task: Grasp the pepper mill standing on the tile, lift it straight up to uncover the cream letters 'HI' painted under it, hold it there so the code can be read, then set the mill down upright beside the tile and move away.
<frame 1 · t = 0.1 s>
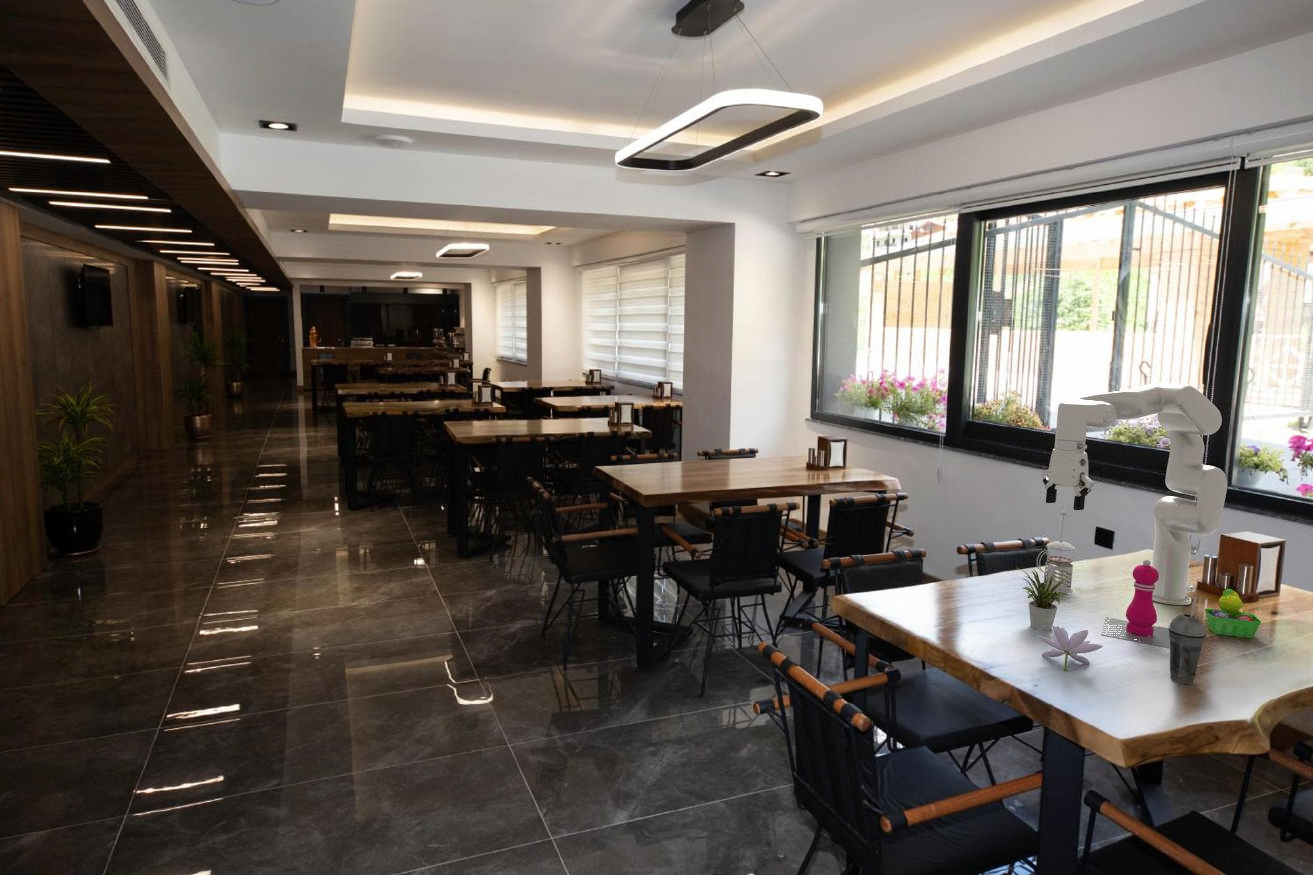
hand: (1064, 506, 227), 31 cm above the table, tool pointing down, fingers open, 9 cm apart
code tile: (1139, 632, 217), on the table
beverage cup: (1181, 681, 186), on the table
house plant: (1035, 627, 220), on the table
fruit basket: (1229, 633, 219), on the table
water lily: (1068, 665, 194), on the table
pepper mill: (1139, 632, 217), resting on code tile
french press: (1054, 589, 255), on the table
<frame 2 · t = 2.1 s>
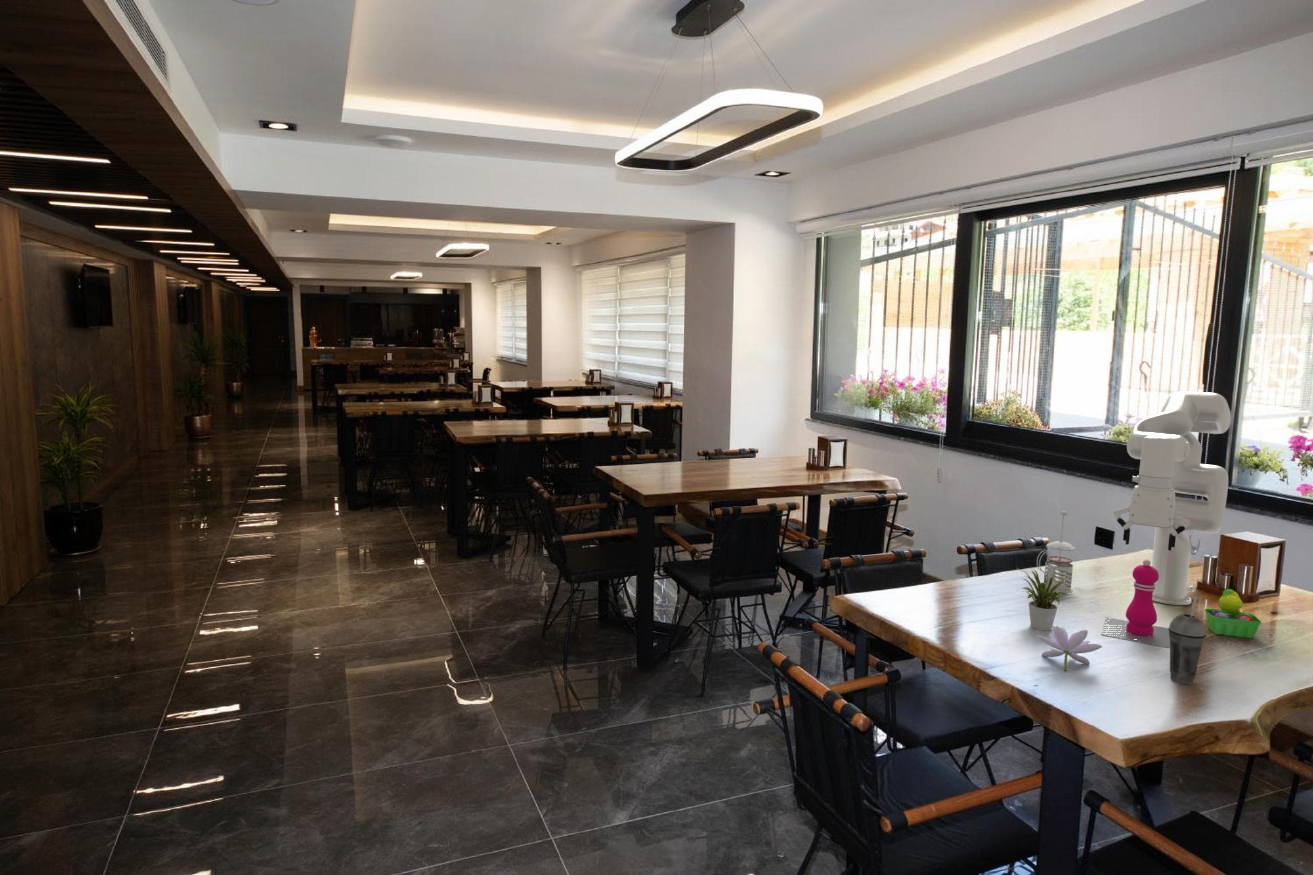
hand: (1148, 546, 214), 24 cm above the table, tool pointing down, fingers open, 9 cm apart
nothing on the table moved.
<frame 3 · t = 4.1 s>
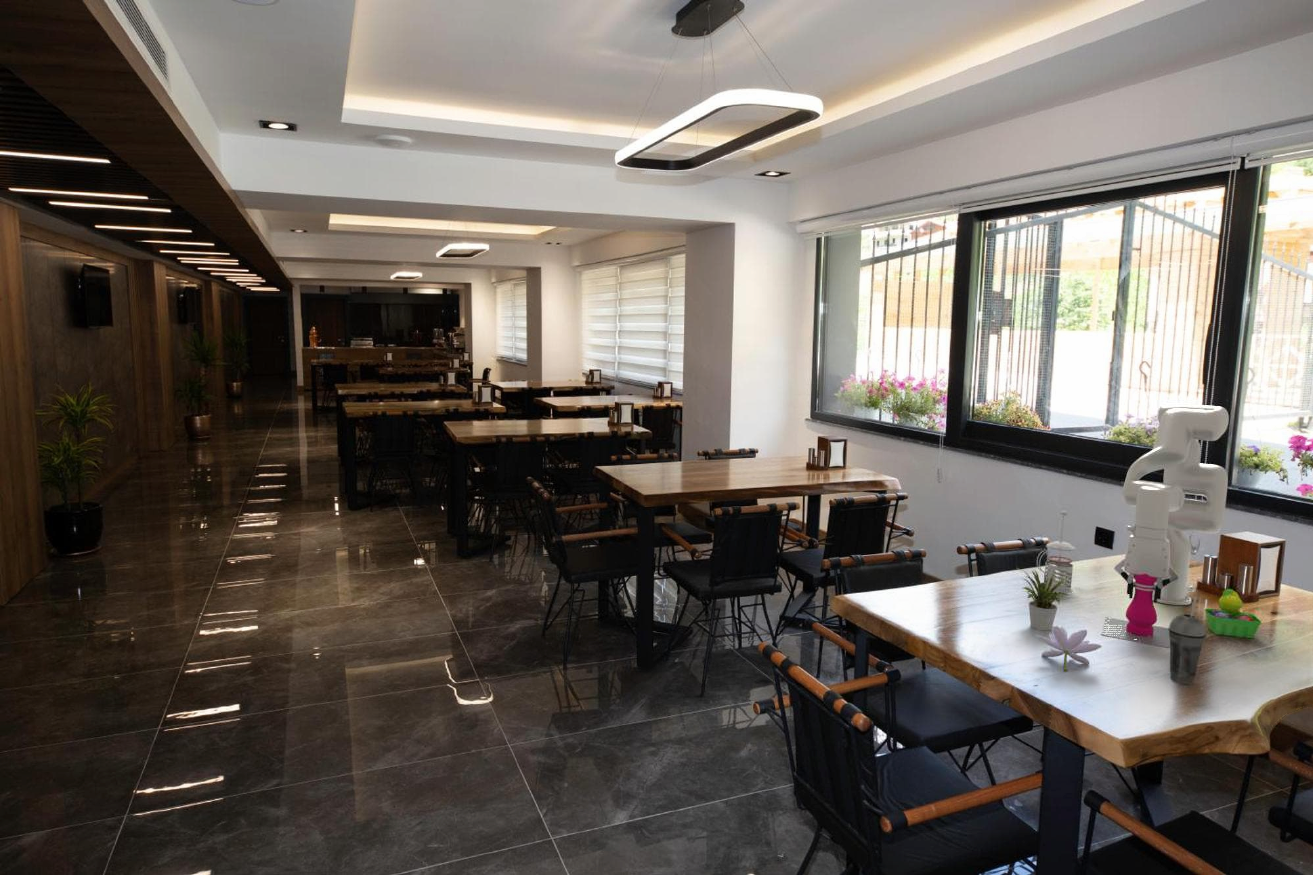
hand: (1143, 598, 216), 9 cm above the table, tool pointing down, fingers closed on pepper mill, 5 cm apart
pepper mill: (1139, 632, 217), resting on code tile, touching gripper
everything else where it was.
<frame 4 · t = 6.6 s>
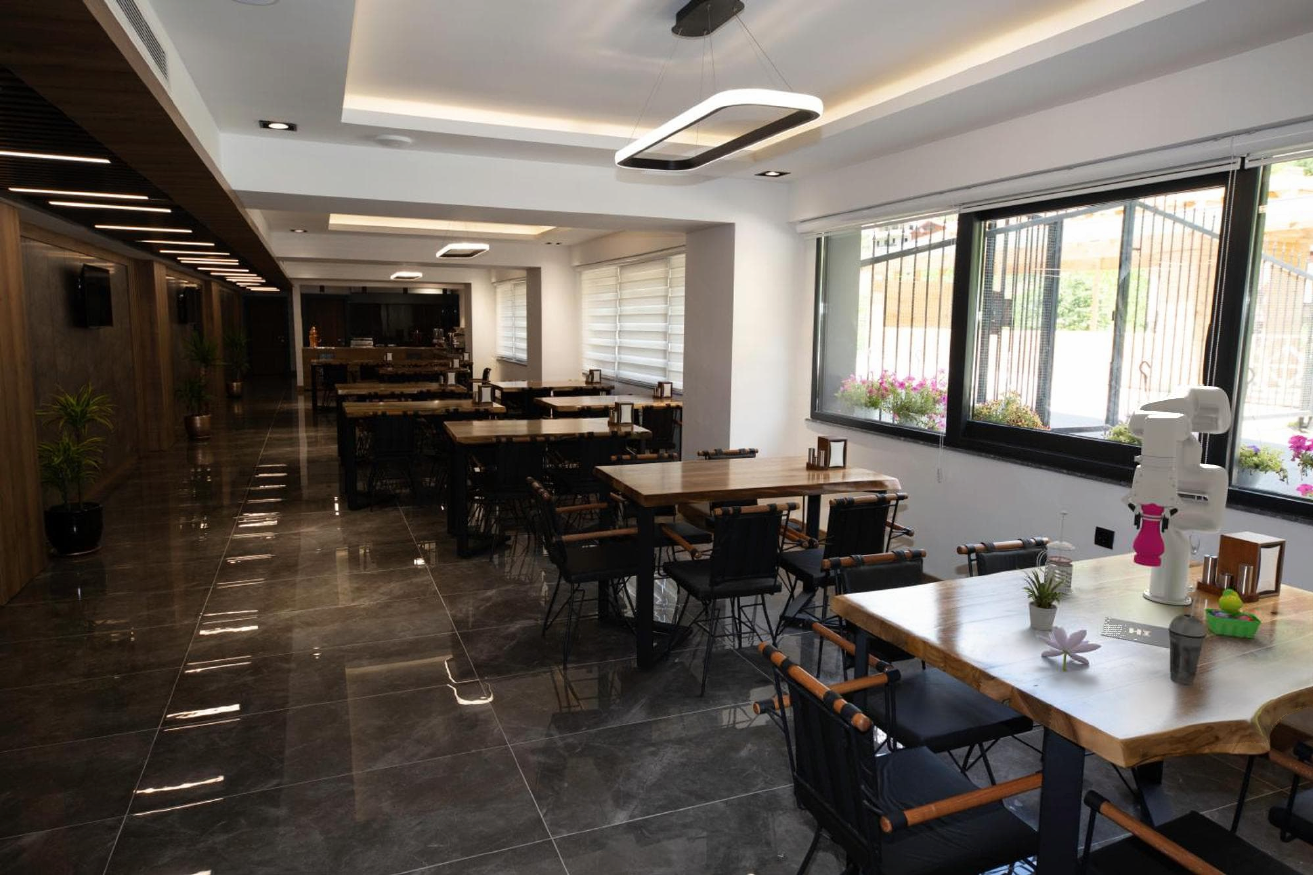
hand: (1150, 529, 214), 28 cm above the table, tool pointing down, fingers closed on pepper mill, 5 cm apart
pepper mill: (1146, 564, 215), point 19 cm above the table, touching gripper
everything else where it was.
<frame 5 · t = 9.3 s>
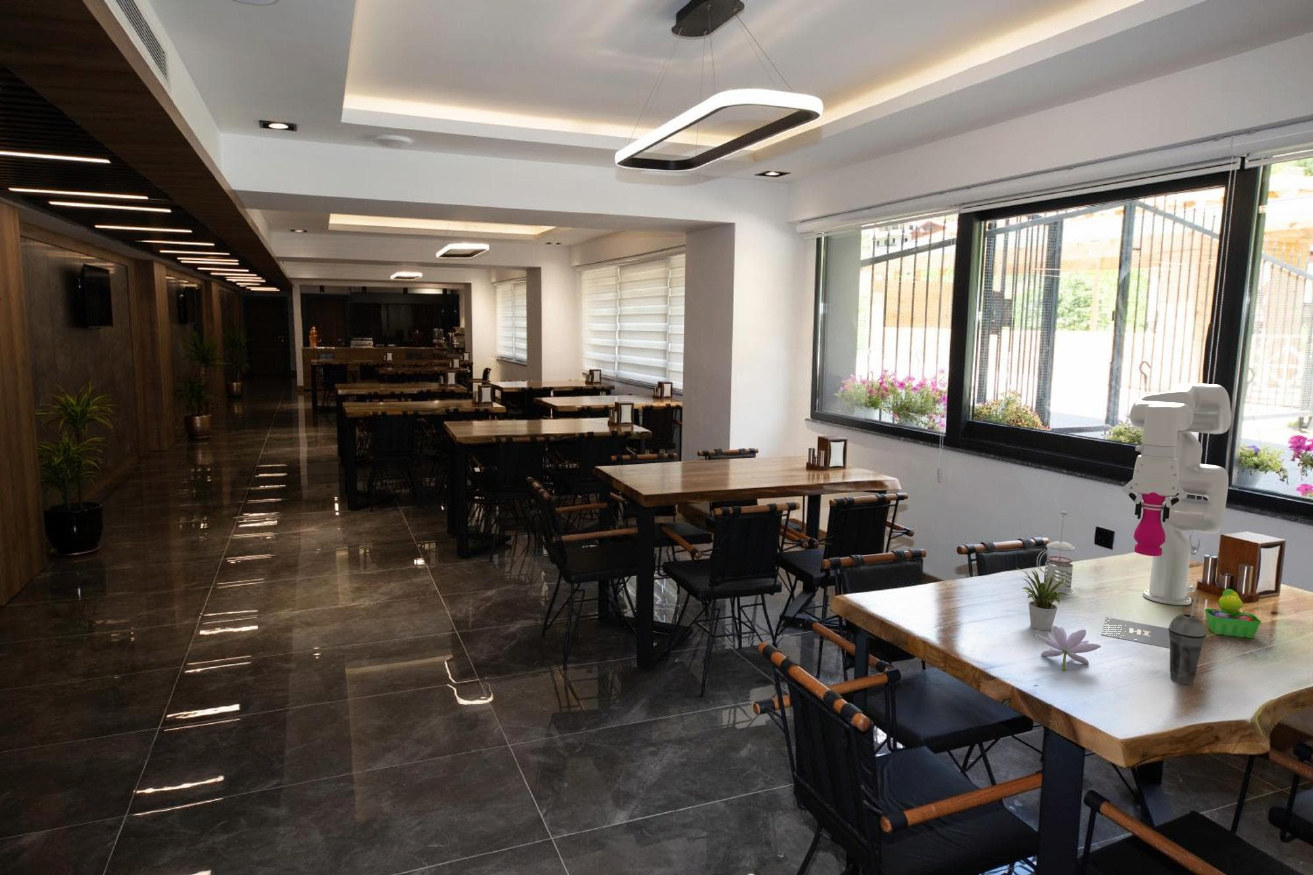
hand: (1151, 519, 214), 31 cm above the table, tool pointing down, fingers closed on pepper mill, 5 cm apart
pepper mill: (1147, 553, 215), point 22 cm above the table, touching gripper
everything else where it was.
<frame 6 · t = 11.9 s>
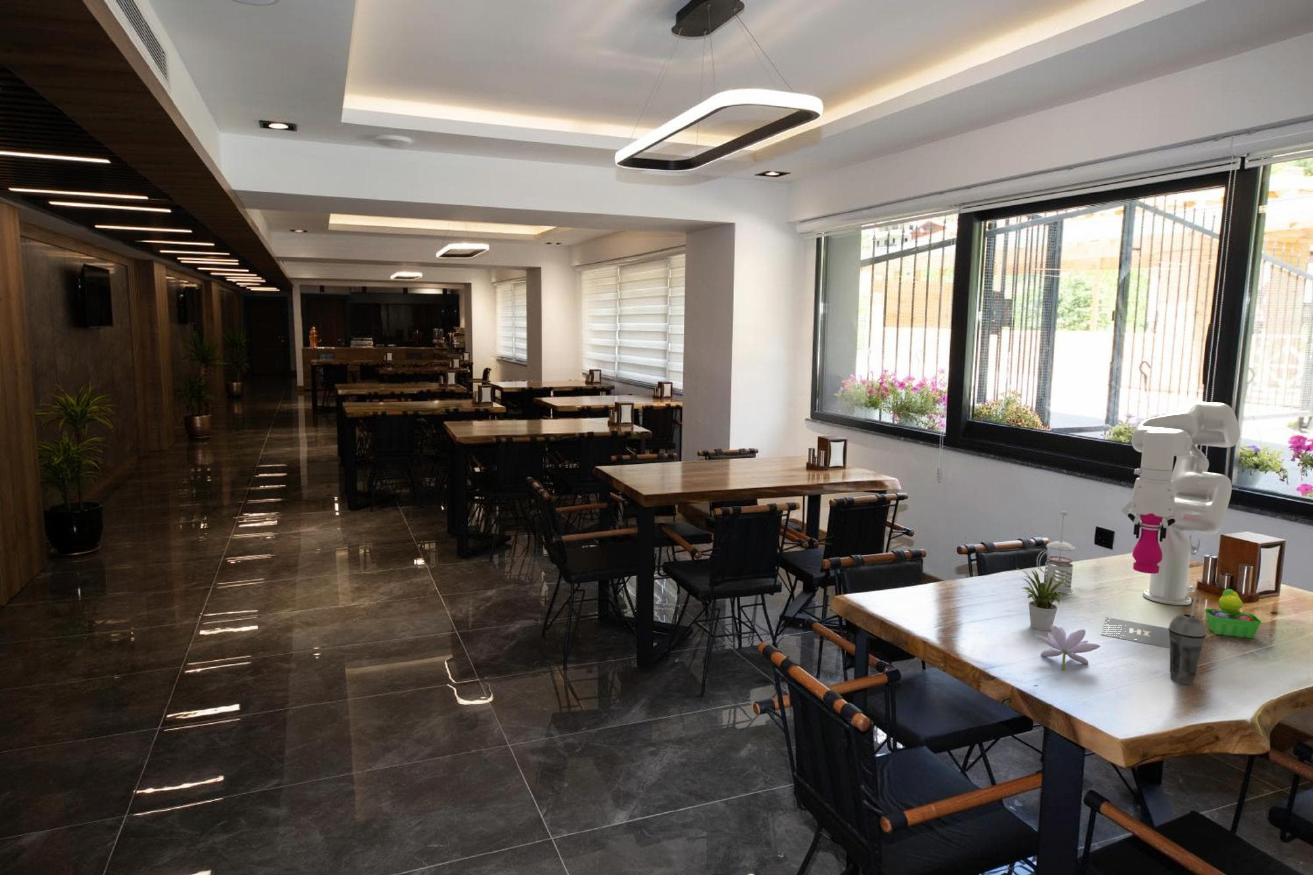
hand: (1149, 538, 226), 23 cm above the table, tool pointing down, fingers closed on pepper mill, 5 cm apart
pepper mill: (1145, 571, 227), point 14 cm above the table, touching gripper
everything else where it was.
when the fingers open (11 cm above the table, at t = 14.5 s): pepper mill drops 2 cm, on the table.
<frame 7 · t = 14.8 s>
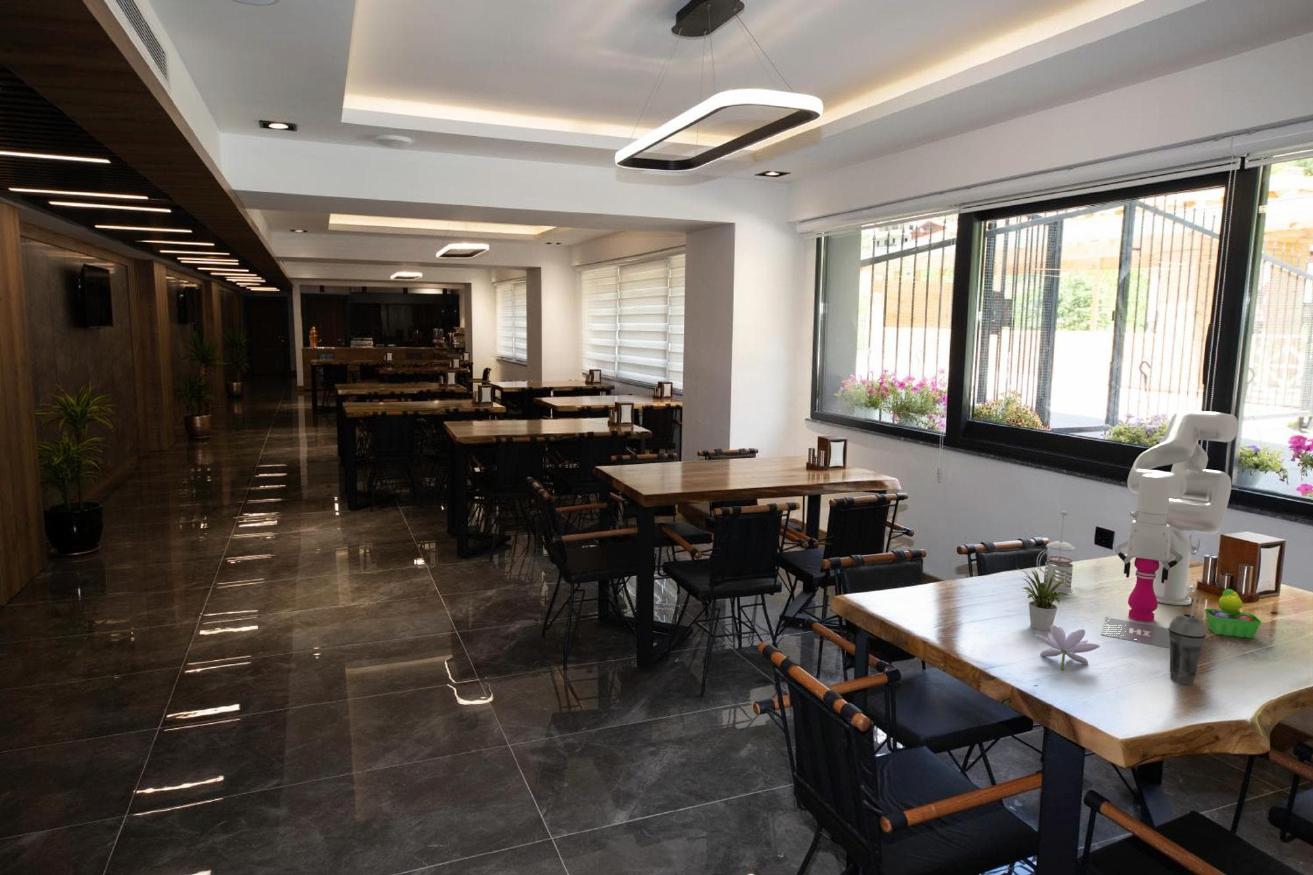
hand: (1145, 579, 227), 11 cm above the table, tool pointing down, fingers open, 8 cm apart
pepper mill: (1141, 618, 229), on the table
everything else where it was.
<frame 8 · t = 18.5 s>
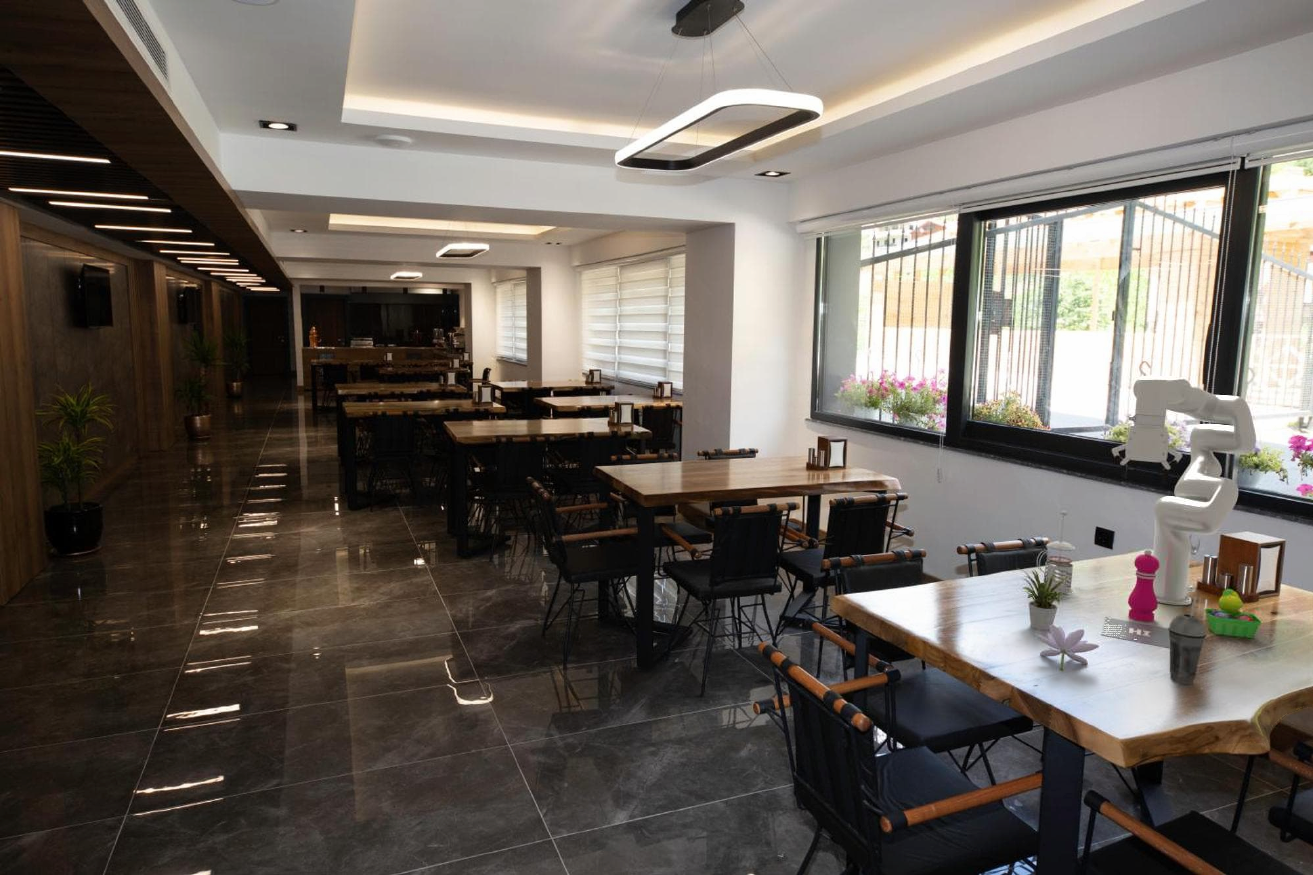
hand: (1143, 480, 231), 38 cm above the table, tool pointing down, fingers open, 9 cm apart
nothing on the table moved.
at the end: pepper mill inside the target area (0.2 cm from its centre), on the table; pepper mill tilted 0°; the gripper is holding nothing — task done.
